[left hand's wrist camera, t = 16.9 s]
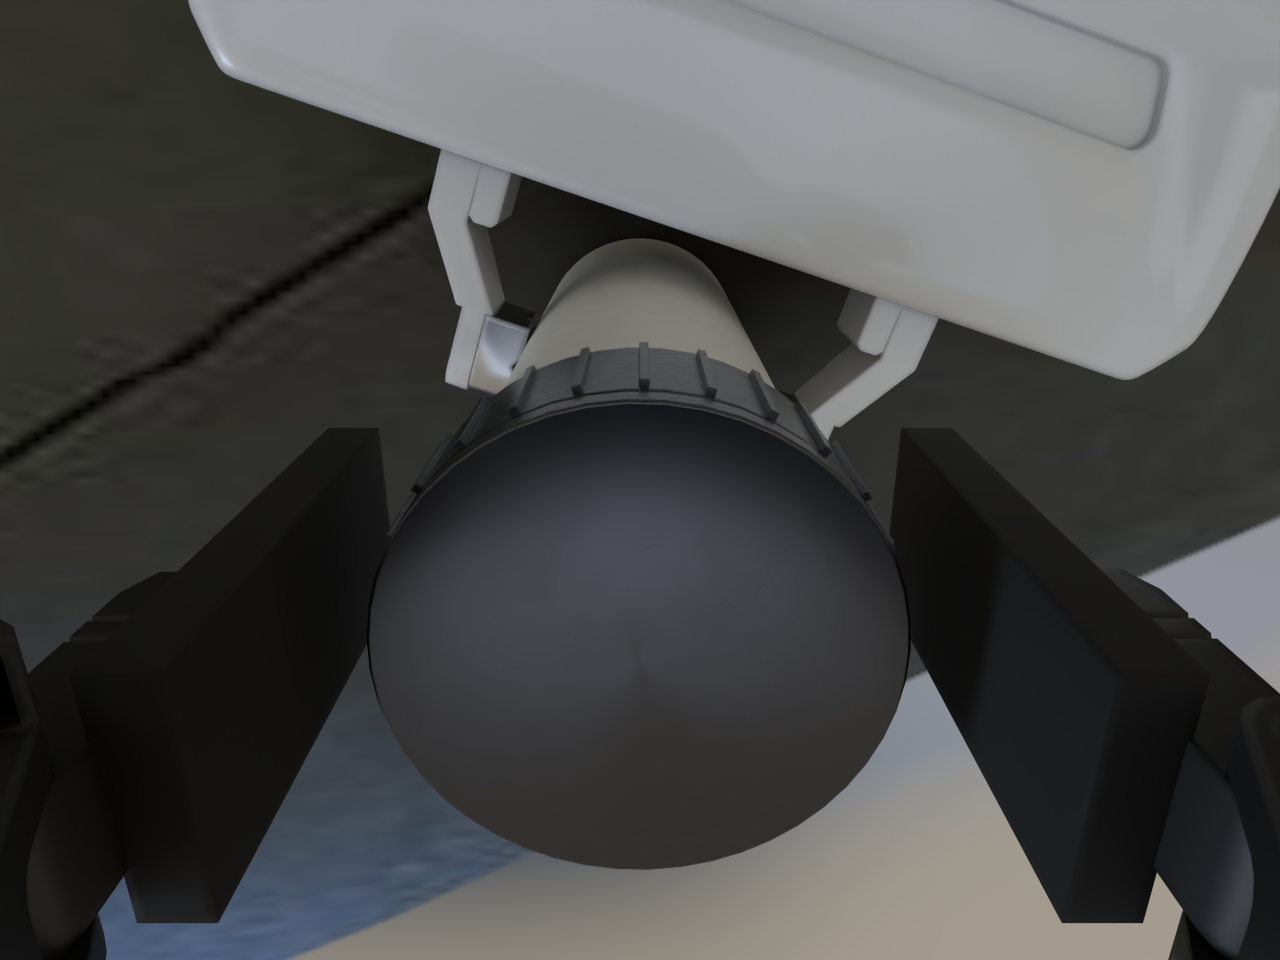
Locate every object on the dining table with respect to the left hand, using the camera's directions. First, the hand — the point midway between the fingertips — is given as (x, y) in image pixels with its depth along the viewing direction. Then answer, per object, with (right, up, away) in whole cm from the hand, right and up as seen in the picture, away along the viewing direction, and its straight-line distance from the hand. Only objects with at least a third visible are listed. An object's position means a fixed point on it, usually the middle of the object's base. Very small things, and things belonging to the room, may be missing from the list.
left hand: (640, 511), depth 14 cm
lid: (0, -1, -4) cm, 4 cm away
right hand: (0, +2, +6) cm, 7 cm away
